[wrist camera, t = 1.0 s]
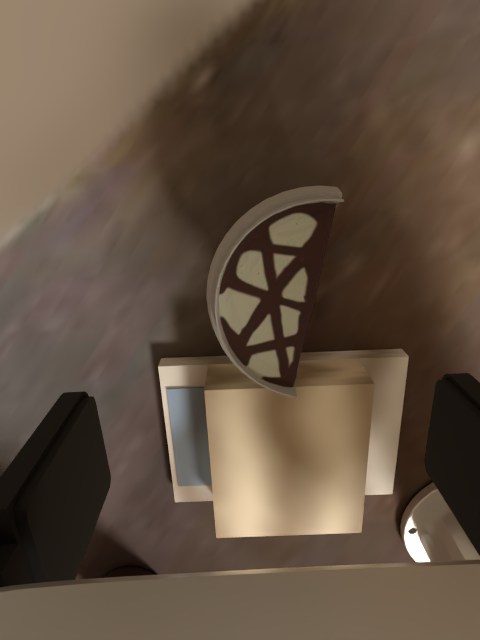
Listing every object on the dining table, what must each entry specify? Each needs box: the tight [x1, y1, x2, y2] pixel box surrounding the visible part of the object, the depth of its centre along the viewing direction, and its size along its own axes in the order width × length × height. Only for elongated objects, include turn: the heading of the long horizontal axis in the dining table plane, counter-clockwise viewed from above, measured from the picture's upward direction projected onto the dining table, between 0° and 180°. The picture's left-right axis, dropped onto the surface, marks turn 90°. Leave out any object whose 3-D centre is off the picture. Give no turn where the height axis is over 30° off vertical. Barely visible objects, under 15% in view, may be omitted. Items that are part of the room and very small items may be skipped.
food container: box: [206, 186, 344, 398], centre depth 26 cm, size 12×6×10 cm, turn 171°
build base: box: [158, 349, 409, 538], centre depth 33 cm, size 20×14×6 cm
